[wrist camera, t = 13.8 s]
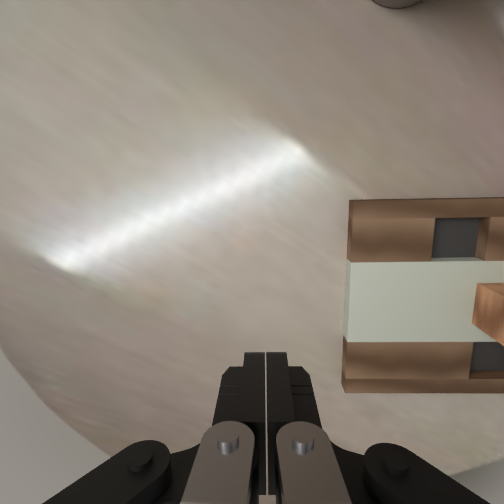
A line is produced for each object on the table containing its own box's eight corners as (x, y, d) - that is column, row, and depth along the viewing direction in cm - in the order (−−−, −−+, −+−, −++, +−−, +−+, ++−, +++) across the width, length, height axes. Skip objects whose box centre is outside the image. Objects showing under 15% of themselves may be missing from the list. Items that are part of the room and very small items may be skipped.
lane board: (349, 199, 39) (358, 202, 35) (599, 195, 38) (637, 197, 34) (341, 383, 44) (349, 403, 41) (560, 383, 43) (589, 404, 40)
